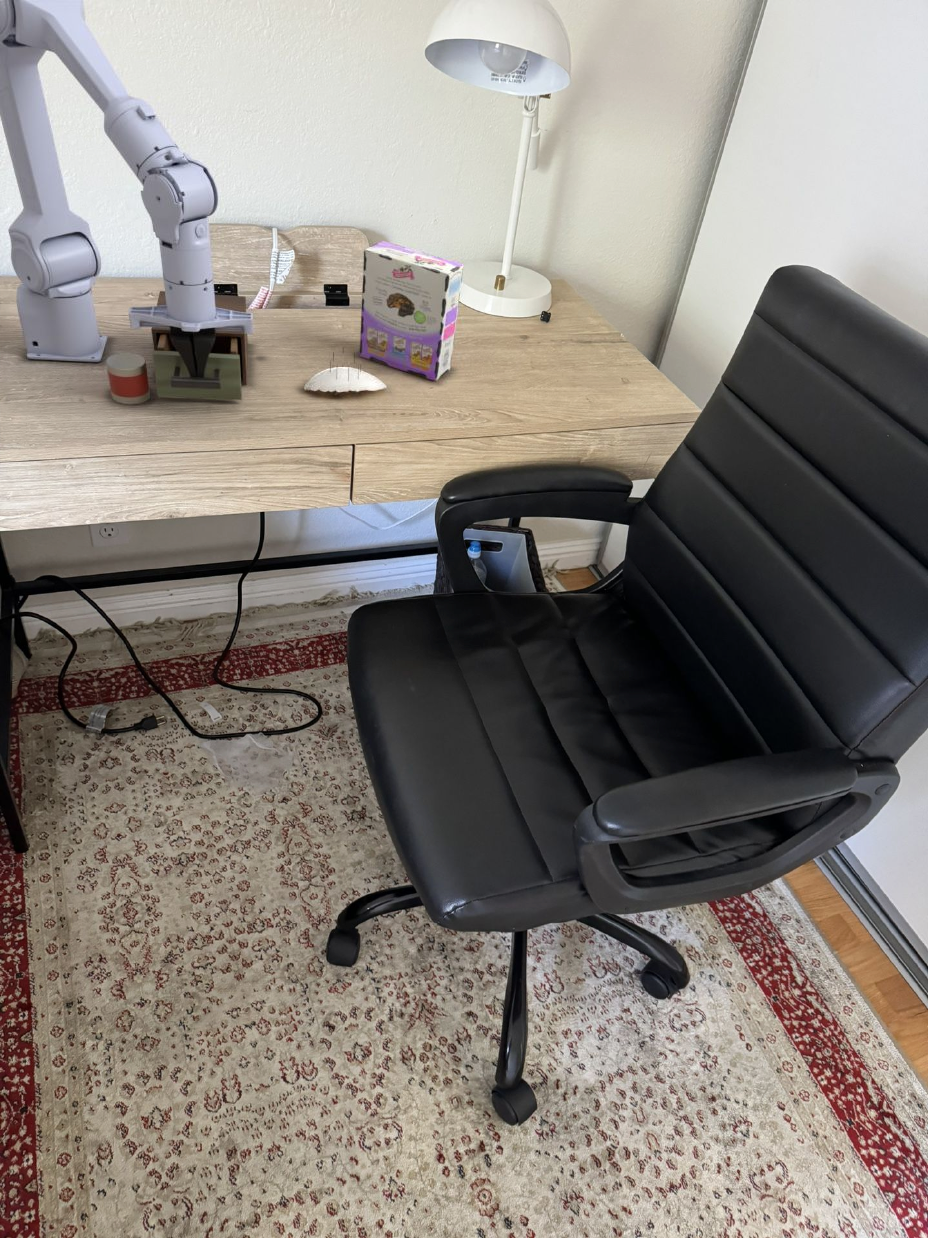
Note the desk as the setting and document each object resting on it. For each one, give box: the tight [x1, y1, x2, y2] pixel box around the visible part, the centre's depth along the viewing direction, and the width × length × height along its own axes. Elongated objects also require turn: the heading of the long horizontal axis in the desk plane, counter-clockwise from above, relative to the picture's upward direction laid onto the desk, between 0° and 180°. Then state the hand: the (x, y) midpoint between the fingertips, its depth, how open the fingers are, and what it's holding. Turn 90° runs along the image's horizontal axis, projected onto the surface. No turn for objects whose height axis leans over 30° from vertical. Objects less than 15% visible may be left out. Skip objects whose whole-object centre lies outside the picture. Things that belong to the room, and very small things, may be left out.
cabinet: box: [150, 290, 249, 386], centre depth 115 cm, size 13×12×8 cm
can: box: [105, 352, 151, 405], centre depth 106 cm, size 5×5×5 cm
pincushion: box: [303, 347, 387, 395], centre depth 115 cm, size 12×6×6 cm, turn 106°
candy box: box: [358, 240, 465, 382], centre depth 121 cm, size 14×6×16 cm, turn 65°
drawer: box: [152, 333, 243, 401], centre depth 109 cm, size 16×11×6 cm, turn 10°
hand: (198, 382), depth 105 cm, fingers closed, pressing on drawer
